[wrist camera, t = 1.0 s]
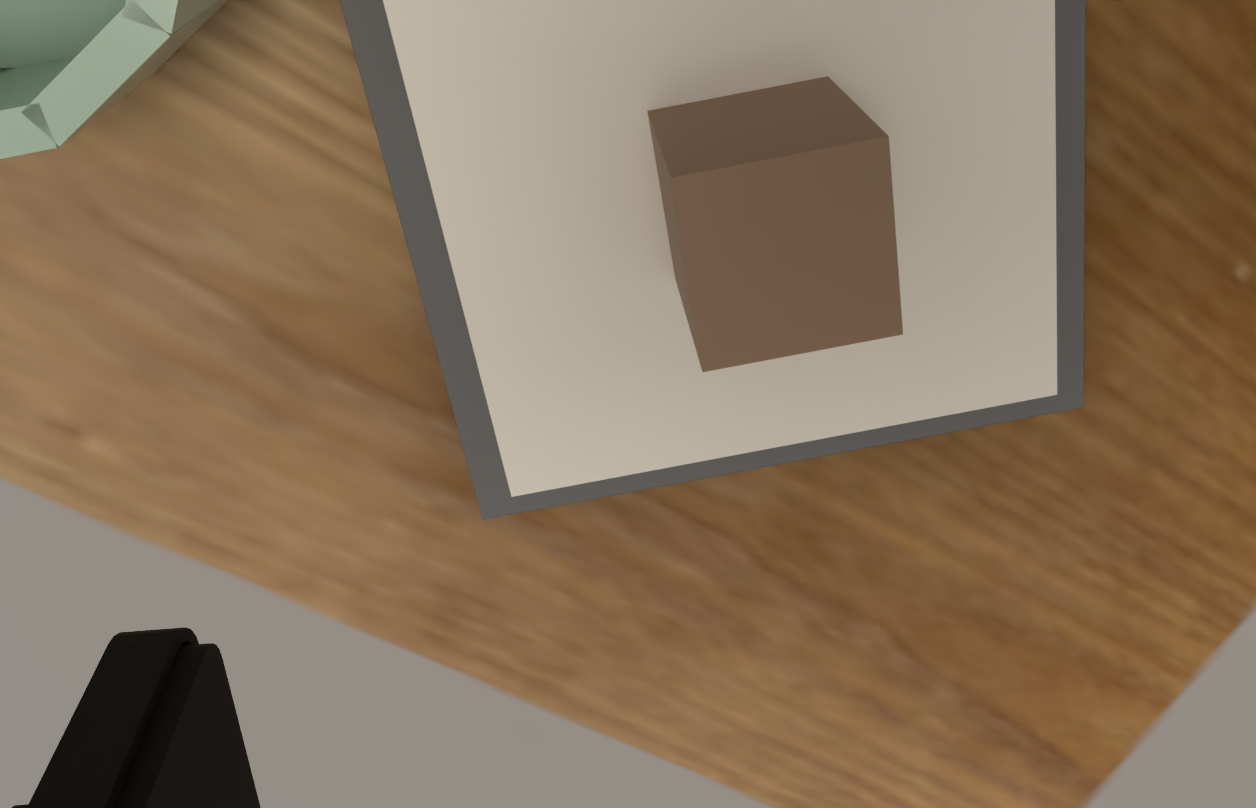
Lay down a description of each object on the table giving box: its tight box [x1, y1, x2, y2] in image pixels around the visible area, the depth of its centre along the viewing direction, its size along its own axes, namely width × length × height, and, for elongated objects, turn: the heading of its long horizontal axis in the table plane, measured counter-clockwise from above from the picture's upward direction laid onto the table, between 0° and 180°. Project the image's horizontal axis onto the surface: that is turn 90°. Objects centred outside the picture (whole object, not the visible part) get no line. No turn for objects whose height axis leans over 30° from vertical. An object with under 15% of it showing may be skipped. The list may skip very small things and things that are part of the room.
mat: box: [340, 0, 1086, 519], centre depth 28 cm, size 16×16×1 cm
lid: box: [383, 0, 1057, 497], centre depth 25 cm, size 14×14×6 cm
